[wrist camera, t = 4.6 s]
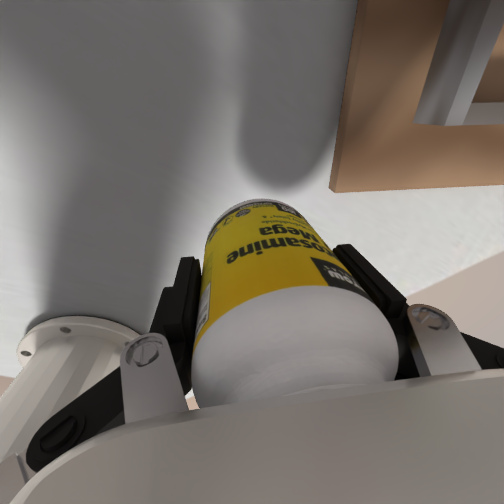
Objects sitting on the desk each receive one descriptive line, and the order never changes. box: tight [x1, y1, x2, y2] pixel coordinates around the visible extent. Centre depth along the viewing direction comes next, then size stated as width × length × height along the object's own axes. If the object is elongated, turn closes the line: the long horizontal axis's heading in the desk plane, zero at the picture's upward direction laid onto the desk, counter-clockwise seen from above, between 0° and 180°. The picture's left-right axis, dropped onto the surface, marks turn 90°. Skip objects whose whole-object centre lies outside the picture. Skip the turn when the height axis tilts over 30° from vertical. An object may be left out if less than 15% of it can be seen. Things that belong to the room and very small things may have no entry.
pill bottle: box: [191, 199, 399, 409], centre depth 9 cm, size 6×6×11 cm
